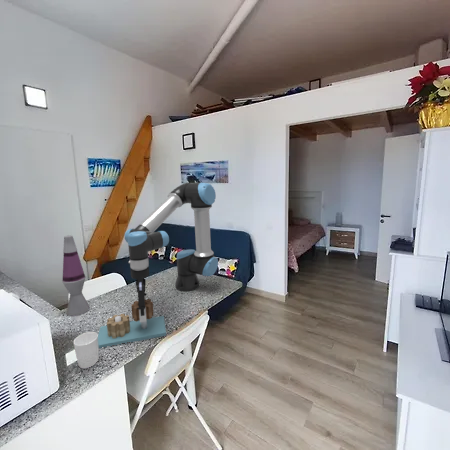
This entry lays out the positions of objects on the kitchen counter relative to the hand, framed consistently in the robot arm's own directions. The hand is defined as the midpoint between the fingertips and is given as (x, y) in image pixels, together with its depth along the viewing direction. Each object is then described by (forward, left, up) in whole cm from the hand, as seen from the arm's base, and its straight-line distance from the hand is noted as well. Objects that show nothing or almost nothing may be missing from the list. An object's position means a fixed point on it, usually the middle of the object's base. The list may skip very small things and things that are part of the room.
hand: (143, 315), depth 111 cm
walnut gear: (0, 0, 0) cm, 0 cm away
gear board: (+5, 0, -7) cm, 9 cm away
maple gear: (+10, 0, -6) cm, 12 cm away
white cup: (+20, +14, -8) cm, 25 cm away
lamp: (+33, -29, -8) cm, 45 cm away
